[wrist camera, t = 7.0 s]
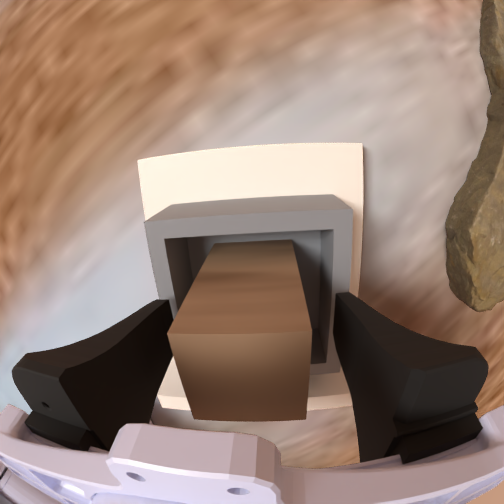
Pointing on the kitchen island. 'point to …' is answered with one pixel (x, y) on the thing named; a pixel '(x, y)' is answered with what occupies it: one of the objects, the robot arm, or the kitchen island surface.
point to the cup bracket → (261, 232)
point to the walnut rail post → (245, 335)
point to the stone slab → (482, 189)
